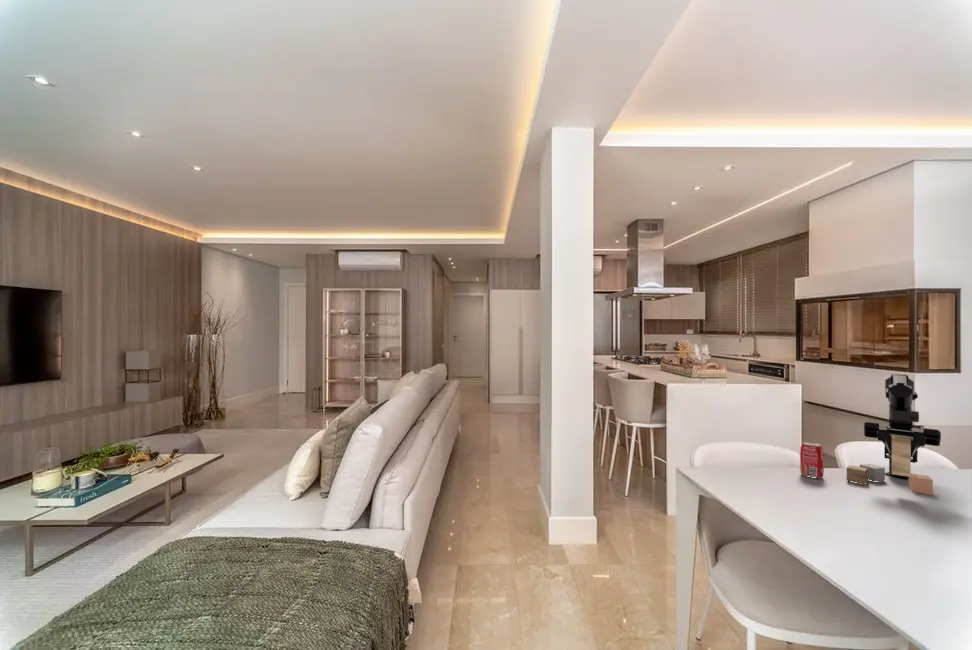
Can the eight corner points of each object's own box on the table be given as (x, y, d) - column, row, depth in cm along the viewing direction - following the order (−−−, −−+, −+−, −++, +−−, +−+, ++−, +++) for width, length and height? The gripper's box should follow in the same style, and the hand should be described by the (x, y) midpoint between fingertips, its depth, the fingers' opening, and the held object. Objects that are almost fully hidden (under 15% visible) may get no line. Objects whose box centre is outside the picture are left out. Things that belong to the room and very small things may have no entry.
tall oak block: (891, 470, 150) (891, 434, 150) (909, 473, 147) (910, 437, 147) (891, 473, 146) (891, 437, 147) (910, 477, 143) (910, 439, 144)
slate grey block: (869, 477, 165) (869, 463, 165) (884, 481, 160) (884, 467, 160) (859, 478, 164) (859, 464, 164) (874, 482, 159) (874, 468, 159)
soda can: (815, 474, 167) (816, 441, 168) (828, 480, 160) (828, 446, 161) (795, 473, 168) (796, 441, 168) (807, 479, 161) (807, 445, 161)
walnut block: (849, 478, 163) (849, 465, 163) (867, 482, 159) (867, 468, 159) (846, 481, 159) (846, 467, 159) (864, 485, 156) (864, 471, 156)
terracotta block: (908, 487, 154) (908, 473, 154) (928, 490, 151) (928, 476, 151) (912, 491, 150) (912, 477, 150) (932, 495, 147) (932, 479, 147)
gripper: (864, 398, 156) (863, 435, 148) (940, 404, 144) (943, 445, 135) (865, 417, 162) (863, 454, 153) (938, 425, 149) (941, 466, 141)
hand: (901, 454), depth 146 cm, fingers closed on tall oak block, 4 cm apart
